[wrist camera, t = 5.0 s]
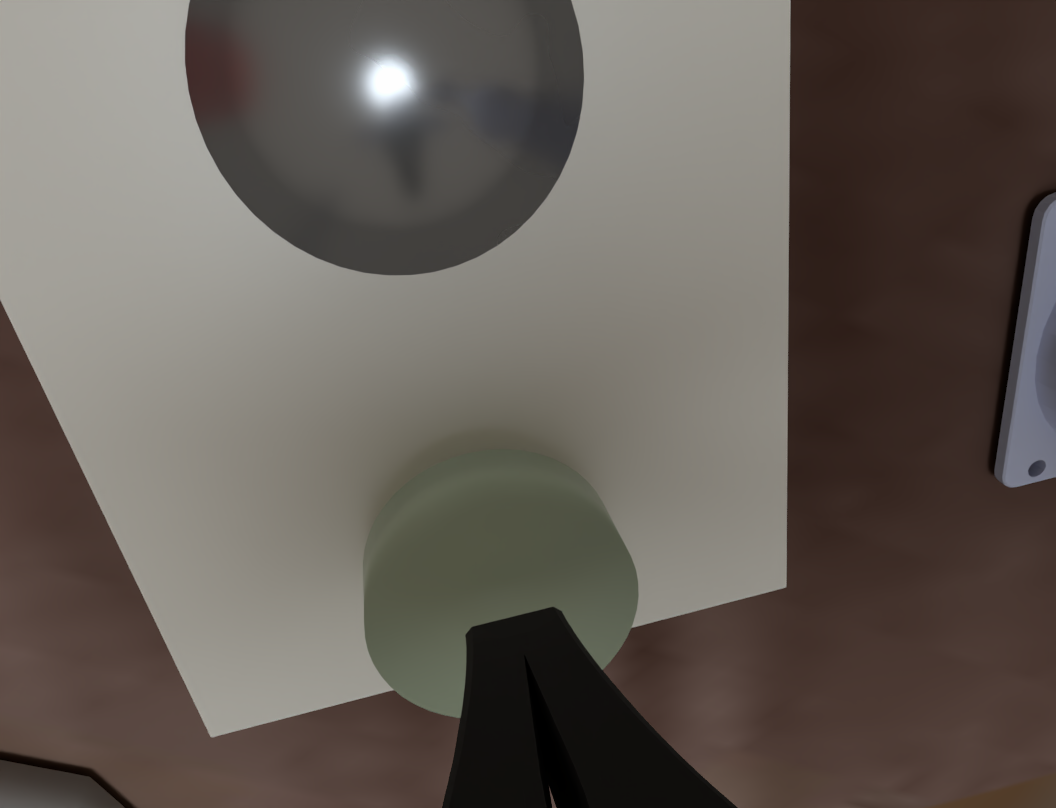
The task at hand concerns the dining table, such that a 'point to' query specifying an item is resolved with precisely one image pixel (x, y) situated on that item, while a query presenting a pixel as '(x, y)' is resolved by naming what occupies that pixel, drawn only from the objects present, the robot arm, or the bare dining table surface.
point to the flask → (49, 789)
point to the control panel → (399, 336)
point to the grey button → (387, 120)
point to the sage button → (489, 567)
